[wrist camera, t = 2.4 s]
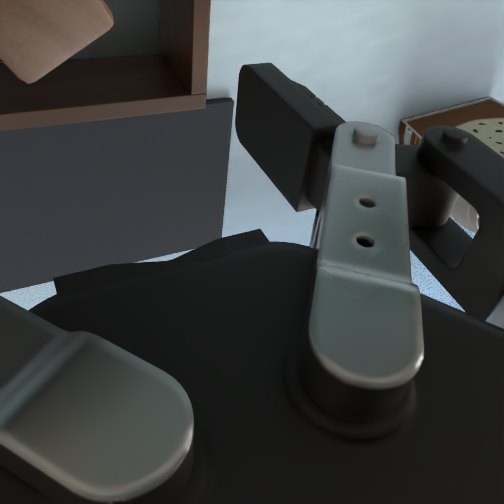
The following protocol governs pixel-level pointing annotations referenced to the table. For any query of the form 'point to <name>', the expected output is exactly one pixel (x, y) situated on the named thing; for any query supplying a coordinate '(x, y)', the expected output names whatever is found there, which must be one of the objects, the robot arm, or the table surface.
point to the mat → (110, 191)
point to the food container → (468, 119)
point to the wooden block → (48, 33)
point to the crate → (118, 78)
